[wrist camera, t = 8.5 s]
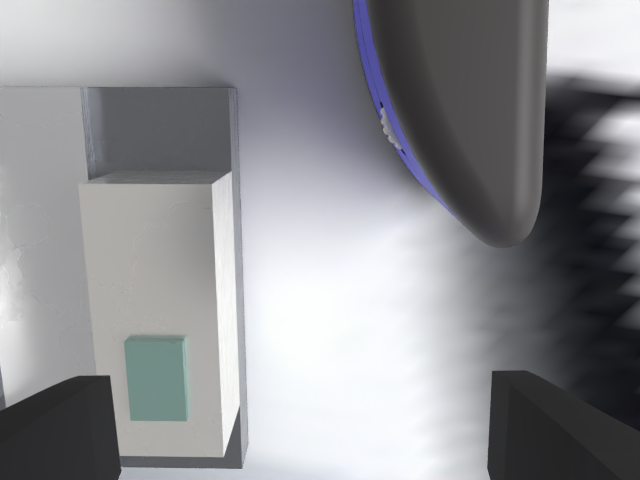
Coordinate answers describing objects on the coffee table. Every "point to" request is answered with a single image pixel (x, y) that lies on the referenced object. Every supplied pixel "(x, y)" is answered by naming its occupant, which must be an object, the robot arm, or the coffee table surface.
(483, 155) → the leaning round-cornered charcoal block
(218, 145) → the rail plate
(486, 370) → the coffee table surface
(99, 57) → the coffee table surface
